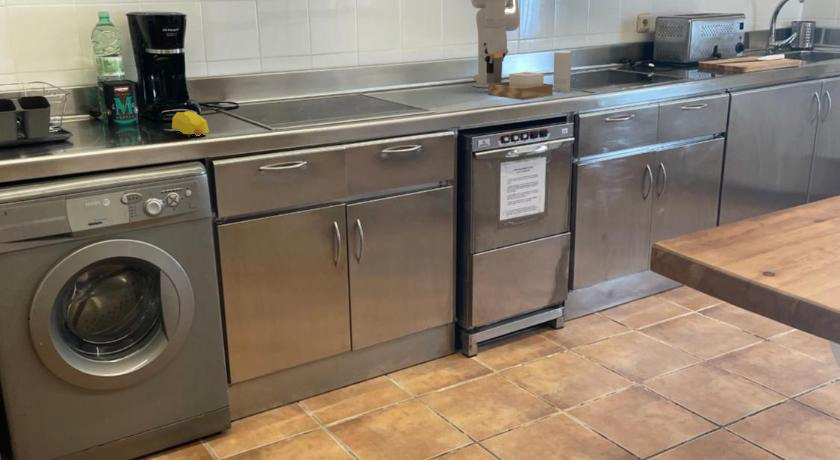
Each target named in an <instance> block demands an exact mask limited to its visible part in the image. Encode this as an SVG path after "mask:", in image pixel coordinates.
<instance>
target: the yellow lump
mask: <svg viewBox="0 0 840 460" xmlns="http://www.w3.org/2000/svg"><path fill="white" fill-rule="evenodd" d="M171 129H172V130H174V129H176V130H178V131H180V132H182V133H183V134H182V133H181V134H182V135H184V134H196V135H200V134H202V133H207V134H208V133H209V132H210V129H209V125H208V122H207V120H206V119H205V118H204V117H202V116H201V115H199V114H198V113H196V112H194V111H190V110H187V111H184V112H183V111H181V112H180V111H177V112H176V113H175V114H174V116H172V123H171Z"/></svg>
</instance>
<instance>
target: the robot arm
mask: <svg viewBox="0 0 840 460" xmlns="http://www.w3.org/2000/svg"><path fill="white" fill-rule="evenodd" d="M471 4H472V7H473V8H475V9H478V11H477V12H476V15H475V20H476V22H475V23H476V28H477V43H478V44H477V48H478V49H477V55H478V56H477V74H475V76H473V77H472V79H473V80H475V81H476V82H474V85H473V86H474V87H476V88H484V89H485V88H486V89H489V83H487V73H491V74H492V73H493V63H492V61H493V55H494V53H497V52H502V62H504V58H505V57H506V56H507V55H508V54H509V50H508V33H507V32H513V31H516V30H518V28H519V27H520V22H521V16H520V8H519V7H520V6H519V0H471ZM489 56H490V58H489Z"/></svg>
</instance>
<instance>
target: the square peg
mask: <svg viewBox="0 0 840 460" xmlns="http://www.w3.org/2000/svg"><path fill="white" fill-rule="evenodd" d="M489 58H490V56H489ZM492 63H493V73H492V74H491V73H487V83H489V84H493V83H501V82H502V77H503V74H502V73H503V61H502V52H497V53H494V55H493V61H492Z"/></svg>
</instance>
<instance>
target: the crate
mask: <svg viewBox="0 0 840 460" xmlns="http://www.w3.org/2000/svg"><path fill="white" fill-rule="evenodd" d="M553 93H554V83H552V84H551V83H544V82H543V85H541V86H534V87H527V88H519V87H511V86H509V81H503V82H502V81H501V83H493V84H489V88H488V95H489V96H492V97H501V98H509V99H515V100H521V101H523V100H525V101H526V100H530V99H531V100H532V99H537V98H543V97H550V96H551V97H552V96H553Z"/></svg>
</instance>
